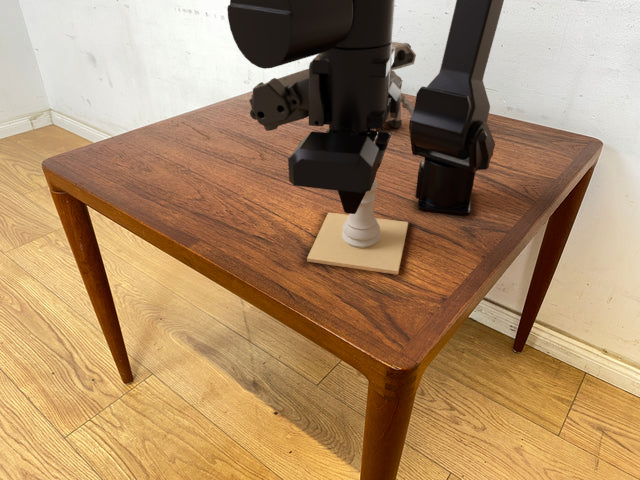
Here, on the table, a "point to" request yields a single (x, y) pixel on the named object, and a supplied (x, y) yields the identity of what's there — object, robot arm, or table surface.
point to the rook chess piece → (362, 223)
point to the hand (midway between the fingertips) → (350, 211)
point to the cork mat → (373, 258)
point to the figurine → (401, 59)
